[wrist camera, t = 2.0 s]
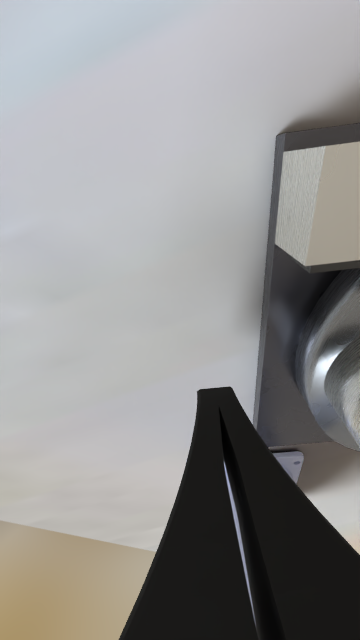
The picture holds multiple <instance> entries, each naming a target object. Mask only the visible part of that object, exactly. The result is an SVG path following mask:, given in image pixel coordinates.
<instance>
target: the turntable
mask: <svg viewBox="0 0 360 640" xmlns="http://www.w3.org/2000/svg"><path fill="white" fill-rule="evenodd" d="M359 336H360V268H354V269H345V270H342V271H341V272H340V274H339V275H338V276H337V277H336V278H335V279H334V280H333V281H332V283H331V284H330V286H329V287H328V288H327V290H326V291H325V292H324V294H323V295H322V296H321V298H320V299H319V300H318V302H317V304H316V306H315V307H314V309H313V311H312V312H311V314H310V316H309V318H308V319H307V322H306V324H305V326H304V329H303V331H302V333H301V336H300V339H299V343H298V347H297V350H296V358H295V376H296V381H297V384H298V388H299V391H300V392H301V394H302V396H303V398H304V400H305V401H306V403H307V405H308V407H309V408H310V410H311V412H312V414H313V416H314V417H315V419H316V421H317V423H318V424H319V426H320V428H321V429H322V430H323V431H324V432H325V433H326V434H327V435H328V436H329V437H330V438H332V439H333V440H334V441H336V442H337V443H339V444H341V445H343V446H345V447H347V448H350V449H353V450H356V451H359V452H360V447H359V445H358V444H357V442H356V441H355V439H354V438H353V436H352V435H351V433H350V432H349V430H348V429H347V427H346V426H345V424H344V423H343V421H342V420H341V418H340V417H339V415H338V414H337V412H336V411H335V409H334V408H333V406H332V405H331V403H330V402H329V400H328V399H327V397H326V395H325V391H324V381H325V376H326V374H327V371H328V369H329V367H330V365H331V364H332V362H333V361H334V359H335V358H336V357H337V355H338V354H339V353H340V352H341V351H342V350H343V349H344V348H345V347H346V346H347V345H348V344H350V343H351V342H352V341H353V340H355V339H356V338H357V337H359Z"/></svg>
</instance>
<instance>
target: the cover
mask: <svg viewBox="0 0 360 640" xmlns="http://www.w3.org/2000/svg"><path fill="white" fill-rule="evenodd" d="M324 391H325V395H326V397H327V399H328V400H329V402H330V403H331V405H332V406H333V408H334V409H335V411H336V412H337V414H338V415H339V417H340V418H341V420H342V421H343V423H344V424H345V426H346V427H347V429H348V430H349V432H350V433H351V435H352V436H353V438H354V439H355V441H356V442H357V444H358V445H359V447H360V336H359V337H357V338H356V339H355V340H353V341H352V342H351V343H350V344H348V345H347V346H346V347H345V348H344V349H343V350H342V351H341V352H340V353H339V354H338V355H337V357H336V358H335V359H334V361H333V362H332V364H331V365H330V367H329V369H328V371H327V374H326V376H325V381H324Z"/></svg>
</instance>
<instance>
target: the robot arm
mask: <svg viewBox="0 0 360 640" xmlns="http://www.w3.org/2000/svg"><path fill="white" fill-rule="evenodd" d="M303 461H304V456H303V454H302V452H299V451H294V452H282V453H272V452H271V451H270V450H269V448H268V447H267V445H266V444H265V443H264V441H263V440H262V438H261V437H260V435H259V434H258V432H257V431H256V429H255V428H254V426H253V425H252V423H251V421H250V420H249V418H248V417H247V415H246V413H245V412H244V410H243V408H242V406H241V405H240V403H239V401H238V399H237V397H236V395H235V393H234V391H233V389H232V388H231V387H220V388H210V389H200V390H199V391H197V413H196V420H195V426H194V431H193V437H192V442H191V446H190V450H189V454H188V458H187V462H186V466H185V470H184V474H183V477H182V481H181V484H180V487H179V490H178V494H177V497H176V500H175V503H174V506H173V509H172V511H171V514H170V517H169V520H168V523H167V526H166V529H165V531H164V534H163V537H162V539H161V542H160V544H159V547H158V549H157V552H156V554H155V557H154V559H153V562H152V564H151V567H150V569H149V572H148V574H147V577H146V579H145V582H144V584H143V586H142V589H141V591H140V593H139V596H138V598H137V600H136V602H135V605H134V607H133V609H132V611H131V614H130V616H129V618H128V620H127V622H126V625H125V627H124V629H123V631H122V634H121V636H120V638H119V640H360V555H359V554H358V553H357V552H356V551H355V550H354V549H353V548H352V546H351V545H350V544H349V543H348V542H347V541H346V540H345V539H344V538H343V537H342V536H341V535H340V533H339V532H338V531H337V530H336V529H335V528H334V527H333V526H332V525H331V524H330V523H329V522H328V520H327V519H326V518H325V517H324V516H323V515H322V514H321V513H320V512H319V511H318V509H317V508H316V507H315V506H314V505H313V504H312V502H311V501H310V500H309V499H308V498H307V497H306V496H305V494H304V493H303V492H302V491H301V490H300V488H299V487H298V486H297V485H296V484H297V481H298V477H299V474H300V471H301V467H302V464H303Z"/></svg>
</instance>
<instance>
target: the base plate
mask: <svg viewBox="0 0 360 640" xmlns="http://www.w3.org/2000/svg"><path fill="white" fill-rule="evenodd" d="M354 268H360V123H356V124H349V125H341V126H334V127H326V128H319V129H311V130H304V131H297V132H289V133H284V134H281V135H277V136H276V146H275V159H274V171H273V183H272V195H271V208H270V220H269V232H268V244H267V257H266V269H265V281H264V294H263V306H262V318H261V330H260V343H259V355H258V367H257V379H256V392H255V404H254V416H253V426H254V428H255V429H256V431H257V432H258V434H259V435H260V437H261V438H262V440H263V441H264V443H265V444H266V445H267V447H273V446H284V445H296V444H307V443H319V442H330V441H334V440H333V439H332V438H330V437H329V436H328V435H327V434H326V433H325V432H324V431H323V430H322V429H321V428H320V426H319V424H318V423H317V421H316V419H315V417H314V416H313V414H312V412H311V410H310V408H309V407H308V405H307V403H306V401H305V400H304V398H303V396H302V394H301V392H300V391H299V388H298V384H297V381H296V376H295V358H296V350H297V347H298V343H299V339H300V336H301V333H302V331H303V329H304V326H305V324H306V322H307V319H308V318H309V316H310V314H311V312H312V311H313V309H314V307H315V306H316V304H317V302H318V300H319V299H320V298H321V296H322V295H323V294H324V292H325V291H326V290H327V288H328V287H329V286H330V284H331V283H332V281H333V280H334V279H335V278H336V277H337V276H338V275H339V274H340V272H341V271H342V270H345V269H354Z"/></svg>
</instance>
